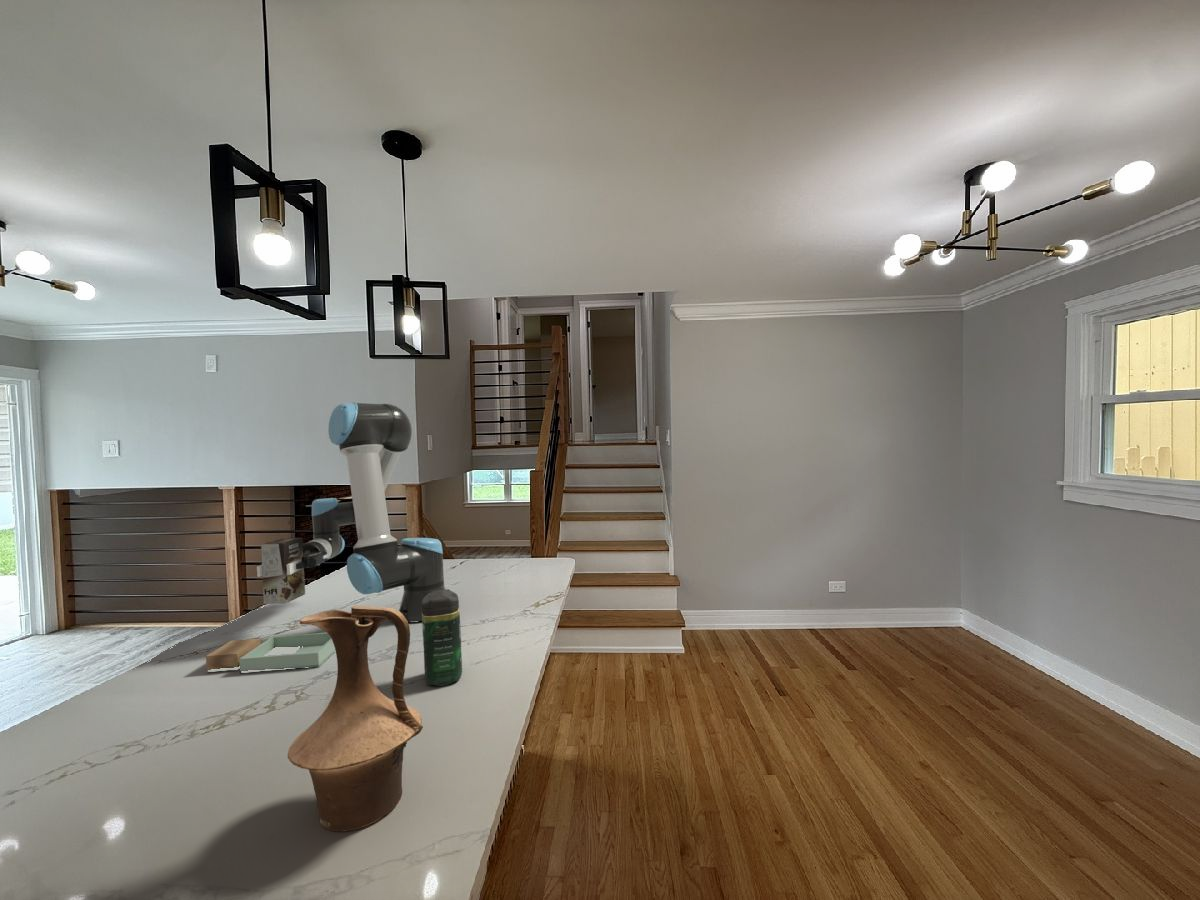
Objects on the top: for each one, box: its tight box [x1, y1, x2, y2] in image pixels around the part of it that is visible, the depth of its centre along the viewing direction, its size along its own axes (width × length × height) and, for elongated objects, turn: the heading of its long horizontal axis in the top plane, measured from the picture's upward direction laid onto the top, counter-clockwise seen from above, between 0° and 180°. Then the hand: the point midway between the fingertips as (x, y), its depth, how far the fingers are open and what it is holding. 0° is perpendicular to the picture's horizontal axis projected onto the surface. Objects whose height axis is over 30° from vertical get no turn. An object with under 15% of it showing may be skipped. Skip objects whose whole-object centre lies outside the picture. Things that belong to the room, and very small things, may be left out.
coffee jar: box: [421, 588, 463, 687], centre depth 117 cm, size 10×8×19 cm
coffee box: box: [260, 537, 306, 605], centre depth 146 cm, size 9×6×16 cm
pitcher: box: [287, 605, 424, 832], centre depth 76 cm, size 18×17×28 cm
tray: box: [239, 631, 336, 672], centre depth 132 cm, size 18×15×4 cm
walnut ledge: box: [205, 638, 262, 671], centre depth 131 cm, size 7×10×4 cm
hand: (273, 570), depth 141 cm, fingers closed on coffee box, 7 cm apart
